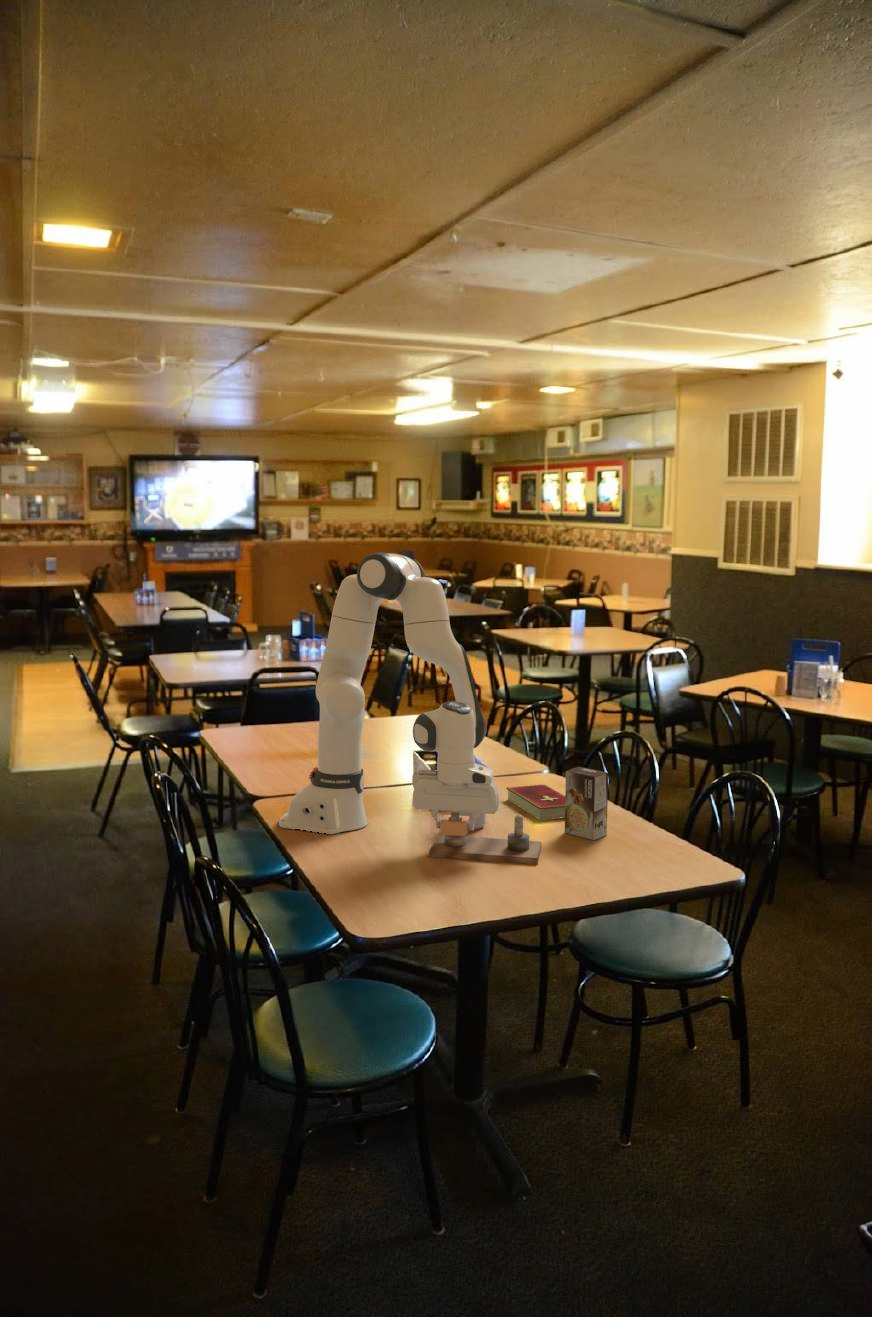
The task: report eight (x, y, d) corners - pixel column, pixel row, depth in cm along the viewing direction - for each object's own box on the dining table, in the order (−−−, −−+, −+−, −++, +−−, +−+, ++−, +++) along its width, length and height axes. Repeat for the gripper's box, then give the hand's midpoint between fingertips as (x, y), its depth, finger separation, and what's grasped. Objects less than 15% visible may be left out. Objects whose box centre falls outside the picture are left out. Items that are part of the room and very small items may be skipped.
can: (482, 832, 252) (483, 785, 250) (453, 829, 253) (453, 783, 252) (487, 823, 259) (488, 777, 257) (458, 821, 261) (459, 776, 259)
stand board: (429, 856, 233) (429, 817, 232) (438, 840, 245) (438, 802, 243) (537, 864, 229) (538, 824, 227) (541, 847, 240) (542, 809, 239)
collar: (440, 834, 235) (440, 822, 234) (444, 826, 241) (444, 814, 240) (465, 836, 234) (465, 823, 233) (469, 828, 240) (469, 816, 239)
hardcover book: (544, 797, 285) (544, 783, 285) (580, 818, 266) (581, 802, 265) (506, 801, 281) (506, 786, 281) (539, 822, 262) (540, 806, 261)
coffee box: (608, 835, 250) (610, 772, 248) (593, 841, 246) (595, 777, 244) (577, 827, 257) (579, 765, 254) (562, 832, 252) (564, 770, 250)
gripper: (409, 772, 234) (409, 830, 236) (497, 777, 230) (495, 836, 232) (415, 766, 240) (414, 822, 242) (500, 771, 237) (499, 827, 238)
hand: (455, 829), depth 237 cm, fingers closed on collar, 6 cm apart
